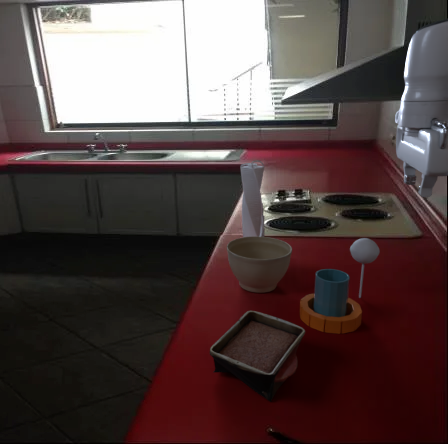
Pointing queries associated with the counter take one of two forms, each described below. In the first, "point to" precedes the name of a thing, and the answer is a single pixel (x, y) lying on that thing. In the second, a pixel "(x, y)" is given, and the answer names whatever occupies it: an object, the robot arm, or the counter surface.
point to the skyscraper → (252, 200)
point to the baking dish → (259, 351)
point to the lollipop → (364, 254)
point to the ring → (330, 323)
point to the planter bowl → (258, 262)
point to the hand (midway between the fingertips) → (416, 189)
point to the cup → (331, 292)
